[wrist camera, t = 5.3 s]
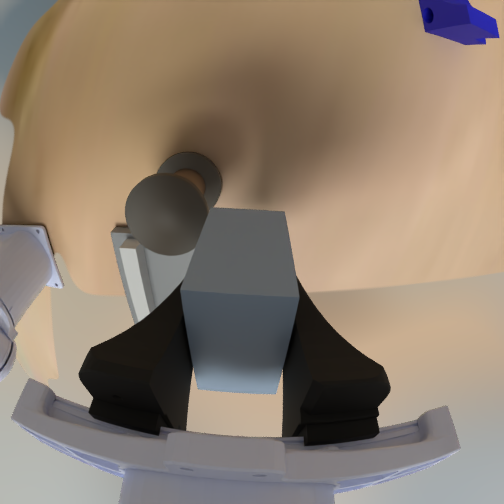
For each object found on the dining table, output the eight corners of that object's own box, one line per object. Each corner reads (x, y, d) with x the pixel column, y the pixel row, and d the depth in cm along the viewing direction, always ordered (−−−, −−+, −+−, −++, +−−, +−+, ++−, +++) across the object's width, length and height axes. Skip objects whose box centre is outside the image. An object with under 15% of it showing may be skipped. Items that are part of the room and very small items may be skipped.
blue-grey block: (213, 301, 16) (198, 389, 11) (210, 207, 13) (180, 289, 8) (272, 305, 16) (275, 394, 11) (284, 211, 13) (299, 296, 8)
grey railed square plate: (142, 333, 30) (136, 349, 27) (115, 227, 22) (102, 241, 20) (262, 345, 30) (262, 363, 28) (277, 236, 22) (278, 252, 20)
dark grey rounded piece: (160, 212, 21) (131, 252, 16) (156, 152, 19) (120, 176, 14) (221, 215, 21) (208, 258, 16) (222, 152, 19) (207, 176, 14)
